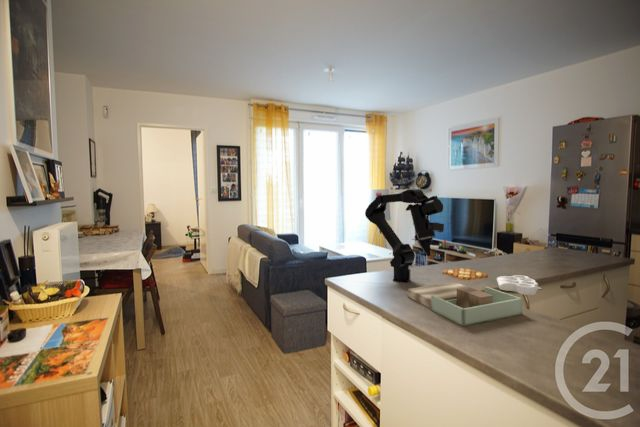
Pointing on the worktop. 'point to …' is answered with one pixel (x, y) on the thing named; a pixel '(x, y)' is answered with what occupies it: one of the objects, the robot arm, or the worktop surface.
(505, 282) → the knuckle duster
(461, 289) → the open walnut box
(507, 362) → the worktop surface
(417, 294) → the bench plate
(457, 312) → the box
